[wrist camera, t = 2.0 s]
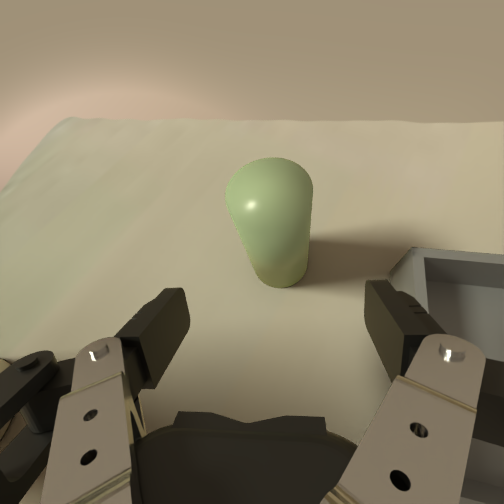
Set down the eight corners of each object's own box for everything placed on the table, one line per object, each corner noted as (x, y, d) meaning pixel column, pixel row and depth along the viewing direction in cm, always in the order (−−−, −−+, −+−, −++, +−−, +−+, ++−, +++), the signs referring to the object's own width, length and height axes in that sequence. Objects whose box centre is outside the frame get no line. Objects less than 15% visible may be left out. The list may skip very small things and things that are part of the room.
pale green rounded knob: (249, 284, 25) (216, 225, 15) (258, 236, 27) (234, 156, 17) (304, 291, 23) (308, 232, 14) (309, 240, 26) (316, 158, 16)
